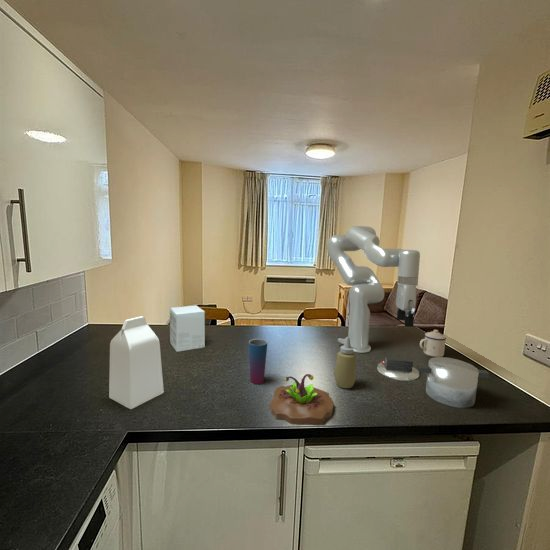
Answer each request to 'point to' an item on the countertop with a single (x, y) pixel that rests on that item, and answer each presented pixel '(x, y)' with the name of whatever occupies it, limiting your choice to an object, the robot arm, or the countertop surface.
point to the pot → (452, 381)
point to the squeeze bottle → (345, 366)
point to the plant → (301, 403)
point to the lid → (398, 368)
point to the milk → (135, 364)
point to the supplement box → (187, 328)
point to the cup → (257, 360)
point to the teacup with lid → (434, 344)
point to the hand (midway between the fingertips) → (404, 323)
